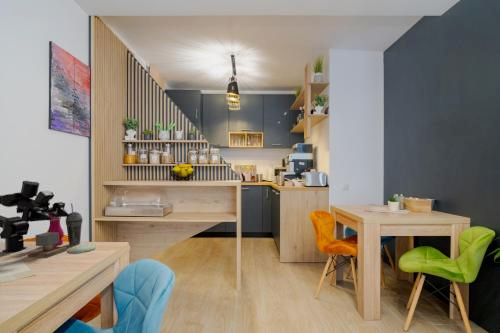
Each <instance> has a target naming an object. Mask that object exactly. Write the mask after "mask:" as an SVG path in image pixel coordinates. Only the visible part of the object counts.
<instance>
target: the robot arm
mask: <svg viewBox="0 0 500 333" xmlns="http://www.w3.org/2000/svg"><path fill="white" fill-rule="evenodd" d="M39 186H40V182H38V181H29V180H23V181H22V184H21V190H20V192H14V193H8V194H3V195H2V194H1V195H0V205H2V206H3V207H6V208H11V207H16V214H21V216H18V215H17V216H12V217H6V216H3V215H0V228H2V231H1V232H0V239H3V240H5V243H4V244H5V246H4V247H5V249H2V250H1V252H3V253H4V252H7V253H14V252H17V251H18V252H19V251H22V250H24V249H27V246H24V245H25V243H24V242H25V241H24V240H25V239H24V236H26V235H28V232H29V229H30V223H29V222H41V221H50V220H51V217H50V216H48V214H52V216H56V217H61V218H66V217H68V216H69V214H70V213H68V212H67V211H66V210H65V207H66V203H65V202H63V201H58V202H55V203H53V204H52V205H53V206H52V207H53V208H51V207H50V205H51V202H50V200H53V198H55V194H54V192H52V191H50V190H41V191H39ZM34 197H35V198H34ZM33 198H34V199H33Z"/></svg>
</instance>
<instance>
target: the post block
mask: <svg viewBox="0 0 500 333" xmlns="http://www.w3.org/2000/svg"><path fill="white" fill-rule="evenodd" d="M63 252H68V247H67V246H53V245H50V246H42V248H38V249H36V250H32V251H29V252H27V257H34V258H50V257H53V256H55V255H58V254H62V253H63Z"/></svg>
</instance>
